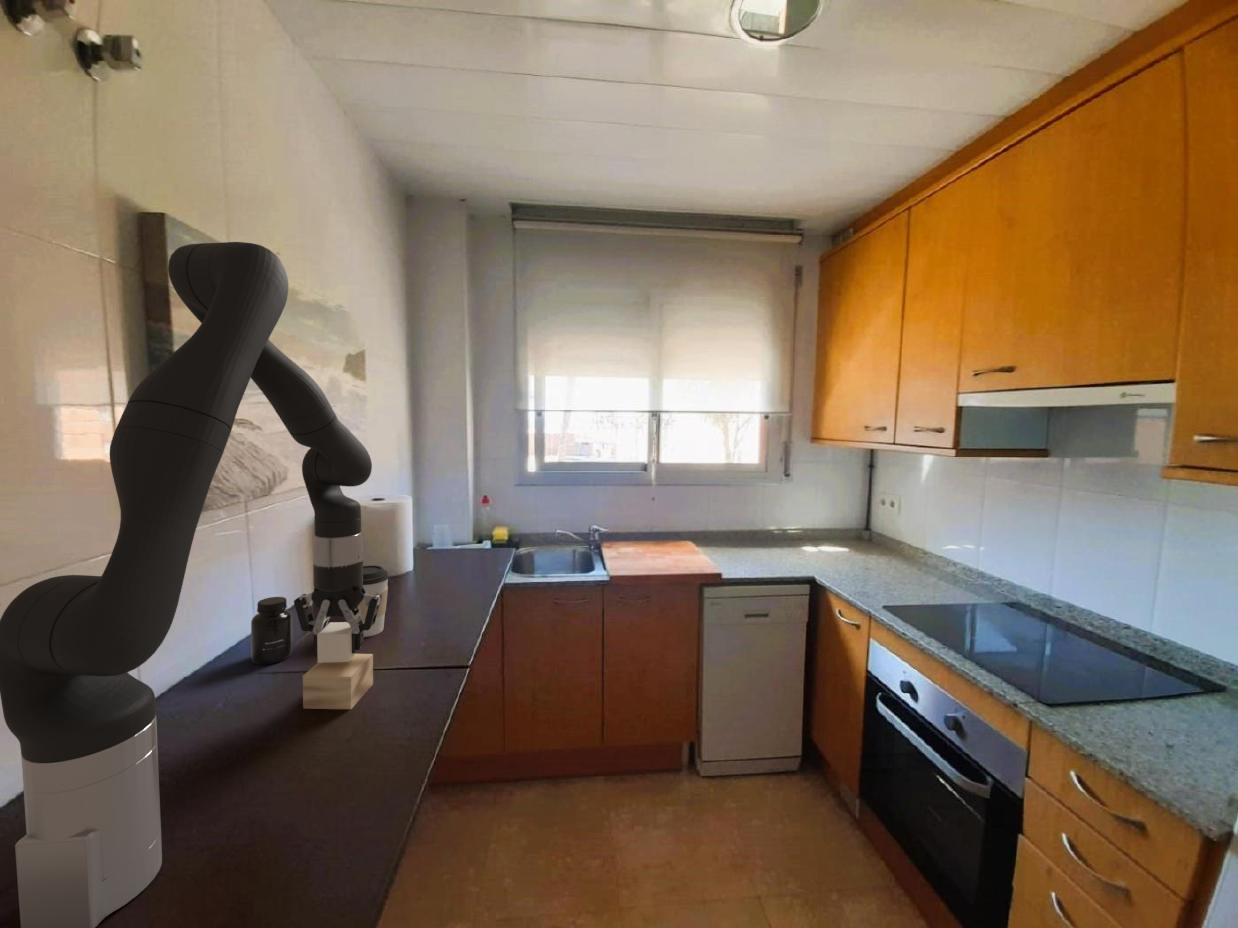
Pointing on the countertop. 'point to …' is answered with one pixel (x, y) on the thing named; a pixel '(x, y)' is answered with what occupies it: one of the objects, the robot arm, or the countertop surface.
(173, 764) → the countertop surface
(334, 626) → the cream cube
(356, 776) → the countertop surface
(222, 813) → the countertop surface
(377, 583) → the coffee cup
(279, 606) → the supplement bottle
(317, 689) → the oak block
